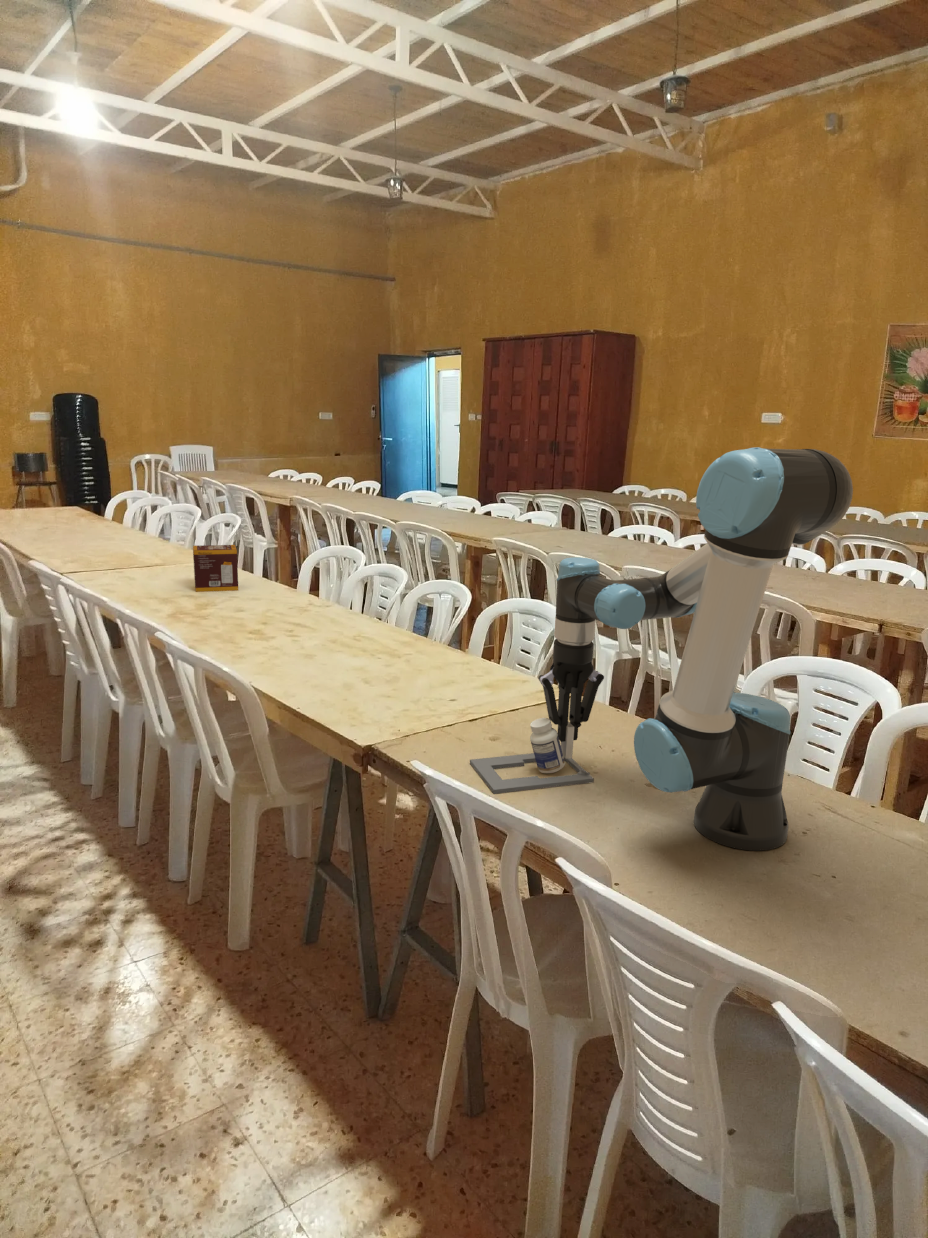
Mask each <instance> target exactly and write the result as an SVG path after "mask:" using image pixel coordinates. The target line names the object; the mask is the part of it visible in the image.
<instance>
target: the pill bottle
mask: <svg viewBox="0 0 928 1238" xmlns="http://www.w3.org/2000/svg"><path fill="white" fill-rule="evenodd" d="M529 725H530V730H531V733H530V737H529V739H530V741H529V742H530V744H531V747H532V750H533V752H532V753H534V756H535V759H536V762H535V763H536V767H537V769H538V771H539V772H540V773H542V774H553V773H556V772H558V771H560V770H562V769H563V768H564V766H565V764H566V762H565V761H564V757H563V753H562V749H561V741H560V740H559V737H558V734H557V733H558V730H557V729H556V728H554V727H553V724H552V721H551V720H550V719H549V717H540V718H536V719H534V720H532V721H531V723H530V724H529Z"/></svg>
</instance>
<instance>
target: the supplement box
mask: <svg viewBox="0 0 928 1238" xmlns="http://www.w3.org/2000/svg"><path fill="white" fill-rule="evenodd" d="M192 554H193V555H192V556H193V573H194V574H193V575H194V586H195V587H194V588H195V593H207V592H208V593H209V592H230V591H231V592H235V591H239V571H238V570H239V567H238V550H237V547H236V544H216V545H215V544H214V545H210V544H208V545H205V544H203V545H192Z"/></svg>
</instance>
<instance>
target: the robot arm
mask: <svg viewBox="0 0 928 1238" xmlns="http://www.w3.org/2000/svg"><path fill="white" fill-rule="evenodd" d="M853 487H854V486H853V480H852V477H851V475H850V472H849V470H848V468H847V467H846V466H845V464H844V463H843V462H842V461H841V460H840V459H839V458H837V457H836V456H835V455H834V454H833V455H832V454H830V453H828V452H826V451H824V450H819V449H815V448H802V449H801V448H800V449H799V448H798V449H797V448H796V449H794V448H792V449H790V448H787V449H786V448H762V447H749V448H745V449H738V450H737V449H736V450H731V451H728V452H725V453H723V454H722V455H721V456H720V457H717V458H716V459H715V460H714V461H713V462H711V463H710V465H709V466H708V467H707V469H706V470H705V472H704V473H703V475H702V477H701V479H700V481H699V485H698V487H697V492H696V495H695V496H696V497H695V507H696V509H698V510H699V512H698V514H697V517H698V520H699V522H700V524H701V526H702V527H703V529H705V531H704V533H703V534H704V535H703V538H704V540H705V541H706V544H703V546H701V547H700V548H699V549H697V550H695V551H694V552H693V553H691V554H690V555H688V556H687V557H686V558H684V559H683V560H681V561H680V562H679V563H676V564H675V565H674V566H672V567H671V568H670V569H668V570H666V572H664V573H662V574H661V575H659V576H652V577H651V576H650V577H642V578H630V579H629V578H628V579H616V580H614V579H609V578H606V577H603V576H602V575H601V574H600V573H601V571H600V564H599V562H598V561H597V559H593V558H589V557H579V556H578V557H575V556H574V557H566V558H563V559H562V560H561V561H560V562H559V564H558V565H559V566H558V573H557V578H556V597H555V599H556V600H555V618H554V619H555V620H554V635H553V636H554V638H555V639H554V640H553V649H552V651H553V652H552V660H553V661H552V664H551V666H550V669H549V671H548V672H547V673H546V674H541V675H539V676H538V678H537V679H538V681H539V682H540V684H541V685H542V688H543V693H544V698H545V699H544V700H545V704H546V710H547V714H548V715H547V716H548V718H549V719H550V721H551V723H553V724H554V725H555V726H557V734H558V737H559V741H560V745H561V749H562V753H563V756H564V757H565V758H566V759H568V758H572V759H573V753H574V750H573V749H574V741H577V740H578V737H579V736H578V735H579V728H581V726H582V723H587V722H588V721H589V719H590V715H591V712H592V709H593V705H594V702H595V699H596V696H597V694H598V693H597V692H598V689H599V686H600V685H601V684H602V683H603V681H604V679H605V675H603V674H602V673H600V672H599V671H598V670H595V669H594V668H595V667H594V665H593V659H594V648H595V644H594V642H593V641H594V640H595V634H596V633H595V632H596V620H597V621H599V622H600V623H603V624H604V625H606V626H608V627H611V628H617V629H619V630H629V629H631V628H633V627H634V626H635V625H637V624H639V623H640V622H641V621H647V620H657V619H665V618H666V619H667V618H681V617H684V616H689V615H692V614H693V617H692V620H691V622H690V623H691V624H690V628H689V631H688V634H687V639H686V643H685V646H684V648H683V653H682V657H681V661H680V664H679V669H678V671H677V675H676V679H675V682H674V686H673V689H672V690H670V691H668V692H666V693H664V694H662V696H661V698H660V699H659V703H658V707H657V708H656V709H657V710H656V714H655V716H654V718H651V717H650V718H647V719H645V720H644V721H642V722H639V724H638V726H637V727H636V729H635V731H634V734H633V735H634V736H633V749H634V754H635V758H636V762H638V765H639V768H640V770H641V772H642V774H643V775H644V777H645V778H646V779H647V781H648V782H649V783H650V784H651V785H652V786H653V787H655V788H656V789H658V790H659V791H661V792H665V793H677V792H688V791H691V790H693V789H698V788H699V789H700V788H701V787H705V788H704V791H703V792H702V794H701V797H700V799H699V801H698V803H697V804H696V805H695V810H694V816H693V825H694V827H695V828H696V830H697V831H698V832H699V833H700V834H701V835H702V836H704V837H705V838H707V839H708V840H710V841H712V842H715V843H717V844H719V845H722V846H726V847H729V848H734V849H737V850H744V851H754V852H755V851H757V852H758V851H769V850H774V849H777V848H779V847H781V846H783V845H784V844H785V843H786V842H787V840H788V834H789V820H788V817H787V812H786V807H785V802H784V799H783V794H782V793H783V783H784V777H785V769H786V761H787V756H788V749H789V741H790V735H791V714H790V711H789V710H788V708H786V707H785V706H784V705H782V704H781V703H779V702H777V701H774V700H772V699H769V698H766V697H763V696H759V695H754V694H750V693H746V692H745V693H744V692H735V689H736V686H737V683H738V679H739V677H740V673H741V669H742V668H743V667H742V666H743V663H744V660H745V658H746V653H747V651H748V647H749V645H750V640H751V638H752V635H753V630H754V627H755V625H756V622H757V618H758V616H759V612H760V608H761V605H762V602H763V599H764V596H765V592H766V589H767V586H768V582H769V579H770V577H771V573H772V569H773V567H774V566H775V564H778V563H779V562H780V563H781V561H783V560H785V559H787V558H788V557H789V554H790V550H791V548H792V546H793V545H794V546H803V545H806V544H808V543H809V542H812V540H814V539H816V538H818V537H819V536H820V537H821V536H822V534H825V533H826V532H828V531H829V530H831V529H832V528H833V527H835V526H836V525H838V523H840V522H841V521H842V519H843V518H844V517H845V515H846V514H847V513H848V510H849V509H850V506H851V505H852V504H851V503H852V501H853V494H854V492H853V491H854V488H853ZM554 680H555V681H556V682H557V688H558V700H556V695H555V689H554V687H553V684H554ZM586 682H587V683H586ZM585 684H586V686H585ZM584 687H585V688H584ZM557 701H558V702H557Z"/></svg>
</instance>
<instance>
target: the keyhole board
mask: <svg viewBox="0 0 928 1238" xmlns="http://www.w3.org/2000/svg"><path fill="white" fill-rule="evenodd" d="M563 757H564V756H563ZM564 761H565V763H567V764H568V765H569V766H570V767H571V768H573V770H574V771H576V772H577V773H576V774H567V775H558V776H551V777H550V776H547V777H542V778H541V777H539V776H538V775H533V776H532V775H530V776H524V777H514V778H507V779H502V778H501V776H500V775H499V773H497V771H496V770H498V769H506V768H507V769H508V768H516V767H517V768H518V767H525V764H529V763H536V759H535V756H534V752H532V753H522V754H512V755H503V756H501V755H500V756H493V757H483V758H472V759H469V765H470V766H471V767H472V768H473V769H474V771H475V772H476V773H477V774H478V776H479V777H480V778H481V780H482V781H483V782H484V784H485V785H486V786H487V787H488V789H489V790H490V791H491V792H492V794H493V795H497V794H504V793H515V792H521V791H522V792H523V791H530V790H539V789H548V788H556V787H566V786H575V785H583V784H590V783H591V784H592V783H594V782H595V778H594V777H593V776H592V775H591V772H588V771H587V770H585V769H584V768H583V767H582V766H581V765H580V764H579V763H578V762H577V761H576V760H575V759H573V757H572V758H568V759H566V758H565V757H564ZM495 769H496V770H495Z"/></svg>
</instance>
